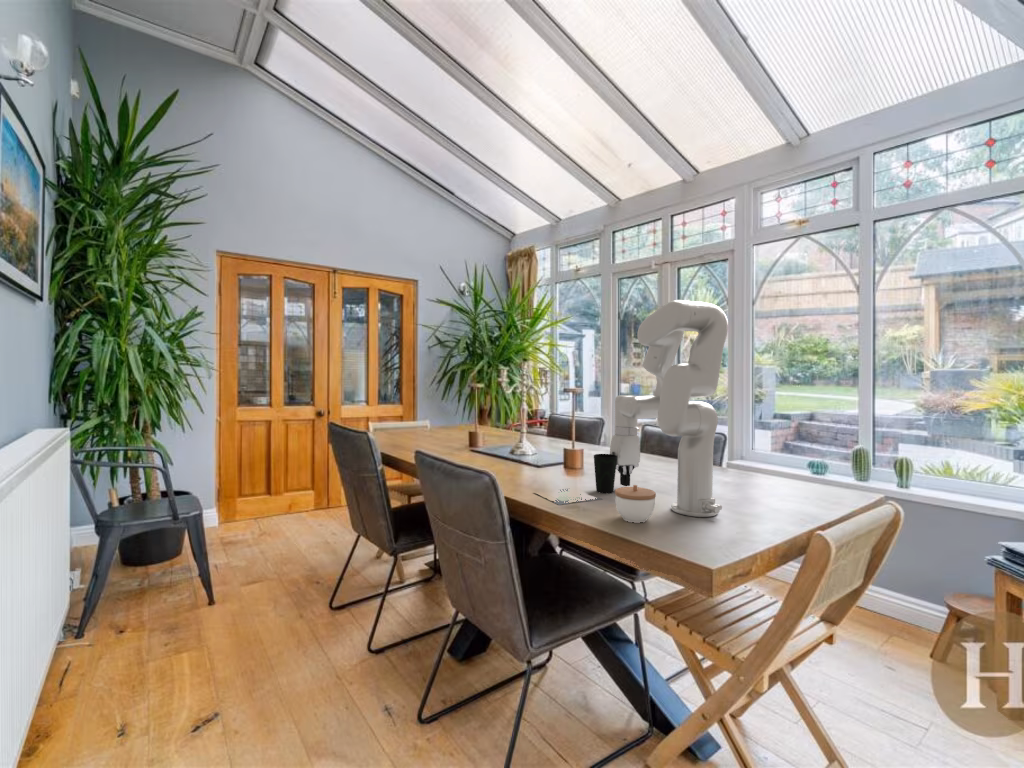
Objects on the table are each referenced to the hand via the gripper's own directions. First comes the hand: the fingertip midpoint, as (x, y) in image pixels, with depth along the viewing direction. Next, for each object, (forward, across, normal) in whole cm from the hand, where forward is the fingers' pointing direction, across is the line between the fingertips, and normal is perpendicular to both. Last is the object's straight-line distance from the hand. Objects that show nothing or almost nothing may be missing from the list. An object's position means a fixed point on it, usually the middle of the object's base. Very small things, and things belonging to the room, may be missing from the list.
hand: (625, 485), depth 171 cm
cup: (+2, +8, 0) cm, 9 cm away
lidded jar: (+2, +20, +29) cm, 36 cm away
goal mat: (+1, +24, 0) cm, 24 cm away
